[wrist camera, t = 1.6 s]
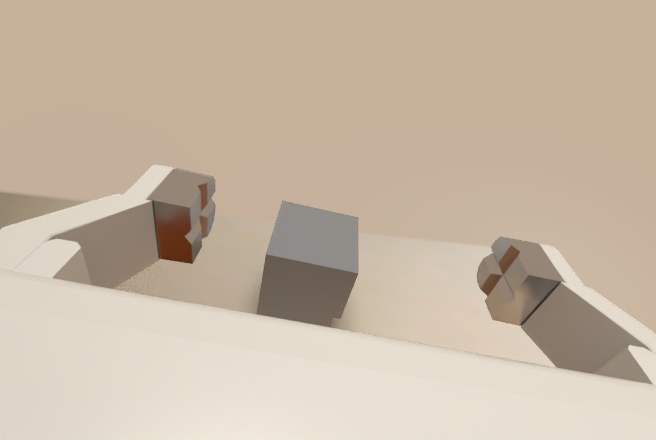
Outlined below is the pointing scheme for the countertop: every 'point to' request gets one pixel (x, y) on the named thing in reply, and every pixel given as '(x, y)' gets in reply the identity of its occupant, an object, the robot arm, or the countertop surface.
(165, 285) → the countertop surface
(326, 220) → the grey block
